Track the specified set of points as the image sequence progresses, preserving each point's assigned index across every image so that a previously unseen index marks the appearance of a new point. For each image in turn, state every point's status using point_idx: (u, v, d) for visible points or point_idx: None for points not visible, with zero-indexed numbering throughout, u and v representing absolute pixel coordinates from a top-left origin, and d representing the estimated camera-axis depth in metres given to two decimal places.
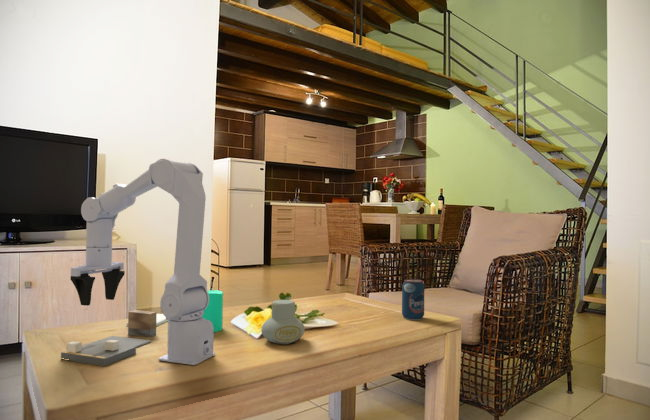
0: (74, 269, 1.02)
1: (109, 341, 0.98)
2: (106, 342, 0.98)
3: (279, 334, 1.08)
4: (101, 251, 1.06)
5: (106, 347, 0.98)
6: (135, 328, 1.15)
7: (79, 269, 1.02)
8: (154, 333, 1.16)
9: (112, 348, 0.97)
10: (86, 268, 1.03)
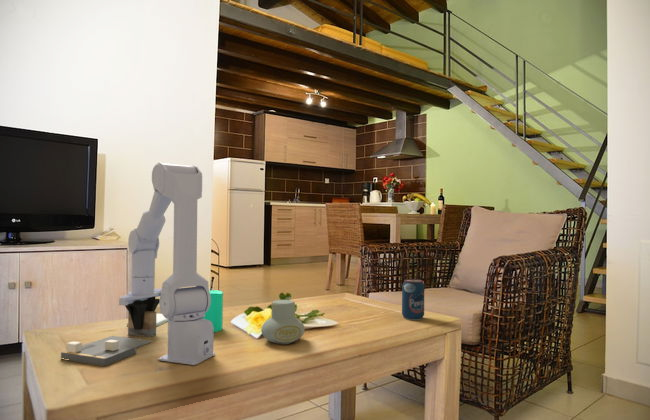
0: (122, 299, 1.09)
1: (109, 341, 0.98)
2: (106, 342, 0.98)
3: (279, 334, 1.08)
4: (146, 281, 1.14)
5: (106, 347, 0.98)
6: None
7: (127, 298, 1.10)
8: (154, 333, 1.16)
9: (112, 348, 0.97)
10: (133, 297, 1.11)
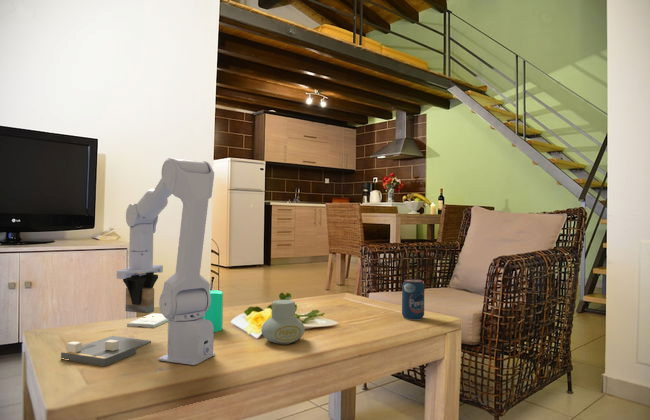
0: (120, 272, 1.07)
1: (109, 341, 0.98)
2: (106, 342, 0.98)
3: (279, 334, 1.08)
4: (144, 255, 1.12)
5: (106, 347, 0.98)
6: None
7: (124, 272, 1.08)
8: (152, 310, 1.14)
9: (112, 348, 0.97)
10: (131, 271, 1.09)
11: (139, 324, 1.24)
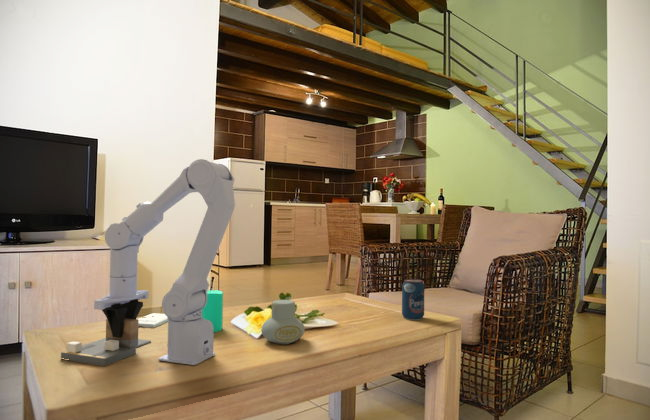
0: (98, 302, 0.94)
1: (109, 341, 0.98)
2: (106, 342, 0.98)
3: (279, 334, 1.08)
4: (126, 281, 0.99)
5: (106, 347, 0.98)
6: (114, 338, 1.00)
7: (103, 302, 0.95)
8: (136, 344, 1.01)
9: (112, 348, 0.97)
10: (110, 300, 0.96)
11: (139, 324, 1.24)
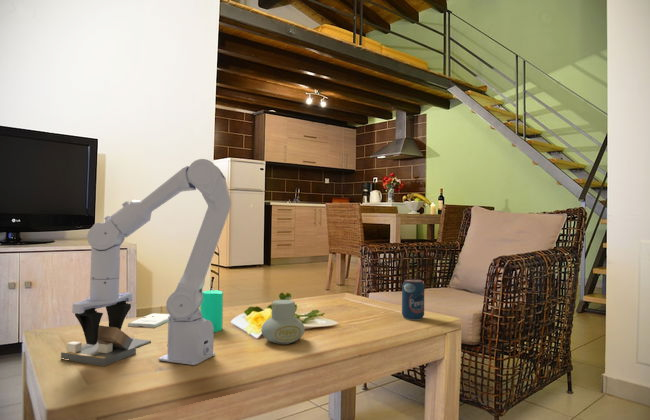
0: (76, 305, 0.89)
1: (102, 343, 0.96)
2: (99, 344, 0.96)
3: (279, 334, 1.08)
4: (107, 283, 0.94)
5: (99, 349, 0.96)
6: None
7: (82, 305, 0.90)
8: (130, 341, 0.99)
9: (105, 350, 0.95)
10: (90, 303, 0.91)
11: (140, 324, 1.24)
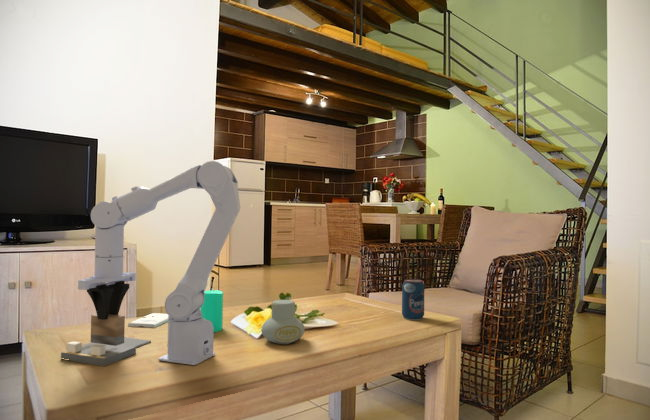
0: (82, 282, 0.91)
1: (95, 346, 0.94)
2: (92, 347, 0.94)
3: (279, 334, 1.08)
4: (112, 261, 0.96)
5: (92, 352, 0.94)
6: (99, 334, 0.97)
7: (87, 282, 0.91)
8: (122, 341, 0.97)
9: (98, 353, 0.93)
10: (95, 280, 0.93)
11: (140, 324, 1.24)
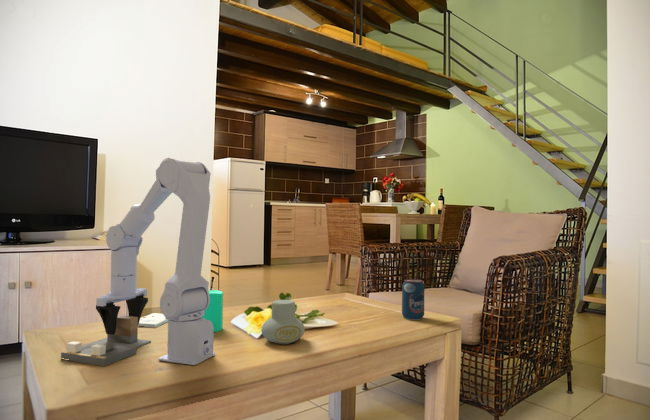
0: (100, 299, 1.02)
1: (95, 346, 0.94)
2: (92, 347, 0.94)
3: (279, 334, 1.08)
4: (126, 280, 1.06)
5: (92, 352, 0.94)
6: (115, 334, 1.08)
7: (105, 299, 1.02)
8: (135, 339, 1.08)
9: (98, 353, 0.93)
10: (111, 297, 1.03)
11: (141, 324, 1.24)
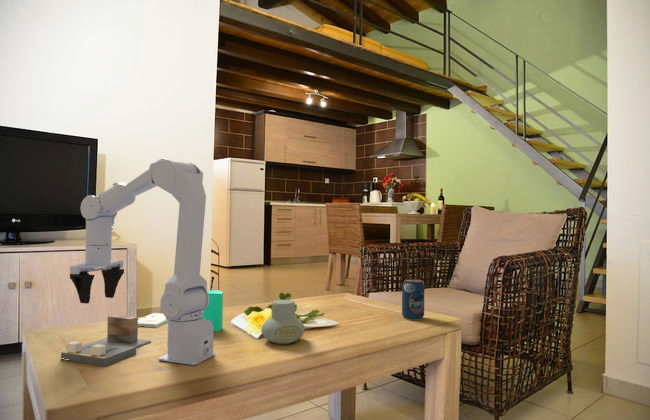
0: (73, 267, 1.02)
1: (95, 346, 0.94)
2: (92, 347, 0.94)
3: (279, 334, 1.08)
4: (100, 249, 1.06)
5: (92, 352, 0.94)
6: (115, 334, 1.08)
7: (78, 267, 1.02)
8: (135, 339, 1.08)
9: (98, 353, 0.93)
10: (85, 266, 1.03)
11: (141, 324, 1.24)
